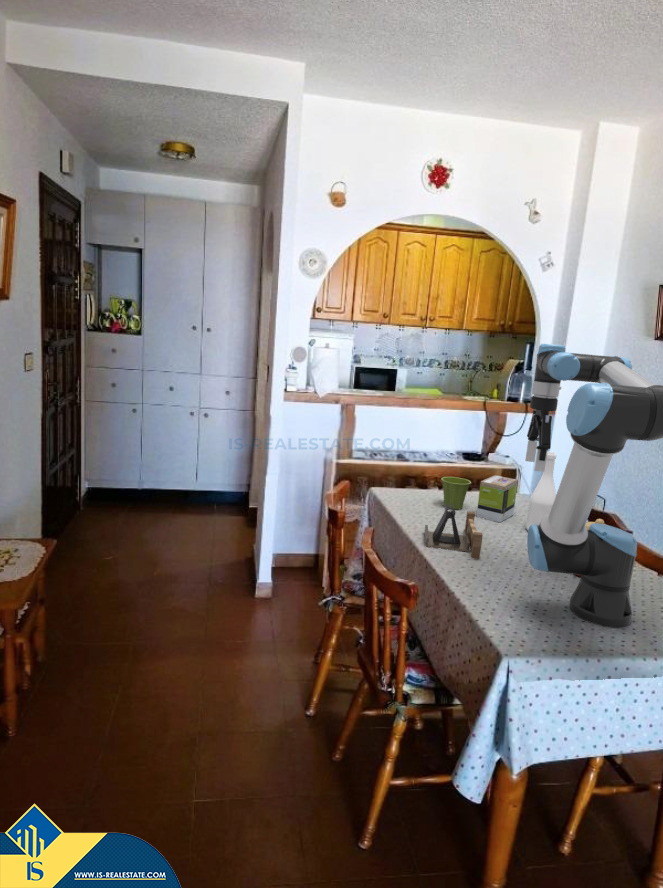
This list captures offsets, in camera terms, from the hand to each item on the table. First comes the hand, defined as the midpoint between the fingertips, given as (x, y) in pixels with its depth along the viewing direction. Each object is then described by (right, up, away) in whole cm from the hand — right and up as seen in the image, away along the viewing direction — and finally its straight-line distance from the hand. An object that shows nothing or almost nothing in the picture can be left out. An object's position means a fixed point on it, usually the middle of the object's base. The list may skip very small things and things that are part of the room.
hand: (534, 466), depth 186 cm
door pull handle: (-15, -27, +19) cm, 36 cm away
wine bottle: (+15, -26, +40) cm, 50 cm away
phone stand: (-23, -26, +20) cm, 40 cm away
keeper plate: (-23, -26, +20) cm, 40 cm away
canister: (+18, -33, +3) cm, 38 cm away
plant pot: (-12, -19, +63) cm, 67 cm away
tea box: (+3, -22, +55) cm, 59 cm away
